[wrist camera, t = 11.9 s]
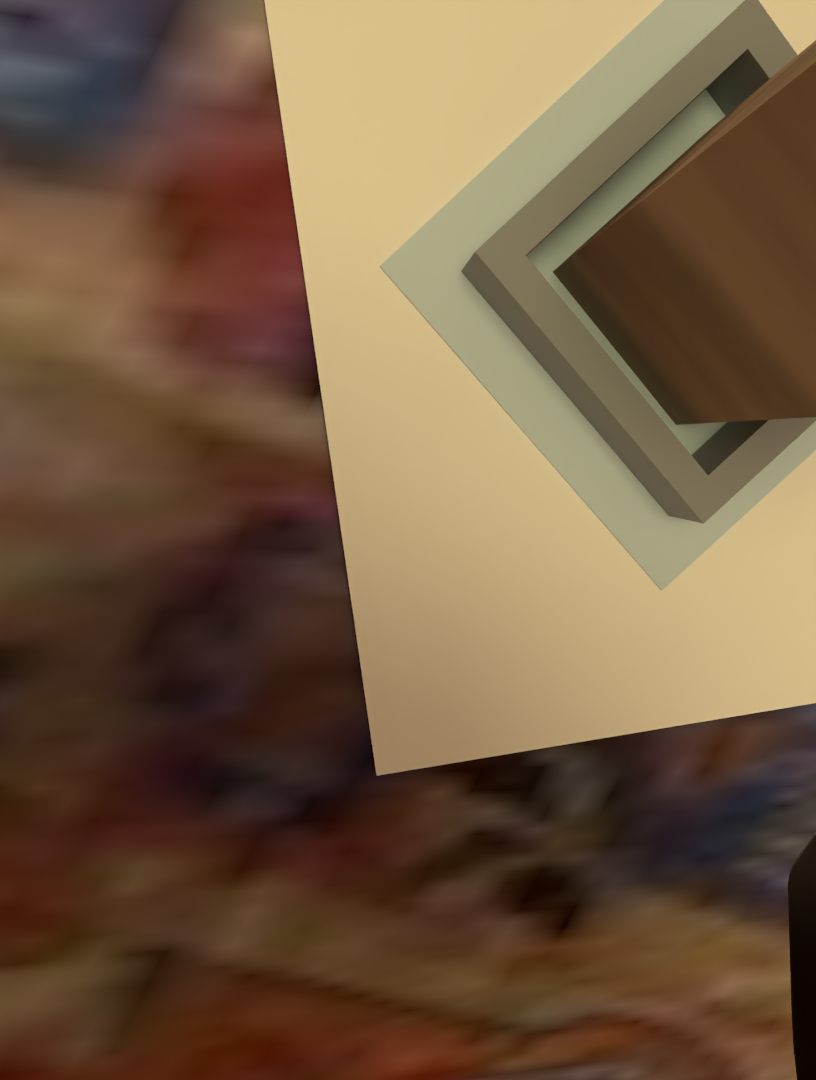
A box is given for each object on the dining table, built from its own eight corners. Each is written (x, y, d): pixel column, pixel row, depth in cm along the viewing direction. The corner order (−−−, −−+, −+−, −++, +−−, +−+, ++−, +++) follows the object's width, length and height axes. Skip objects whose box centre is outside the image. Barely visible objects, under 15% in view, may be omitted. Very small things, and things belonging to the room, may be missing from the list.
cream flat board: (375, 767, 20) (380, 812, 18) (209, -379, 17) (187, -521, 14) (965, 670, 22) (1045, 699, 19) (933, -414, 18) (1030, -552, 15)
